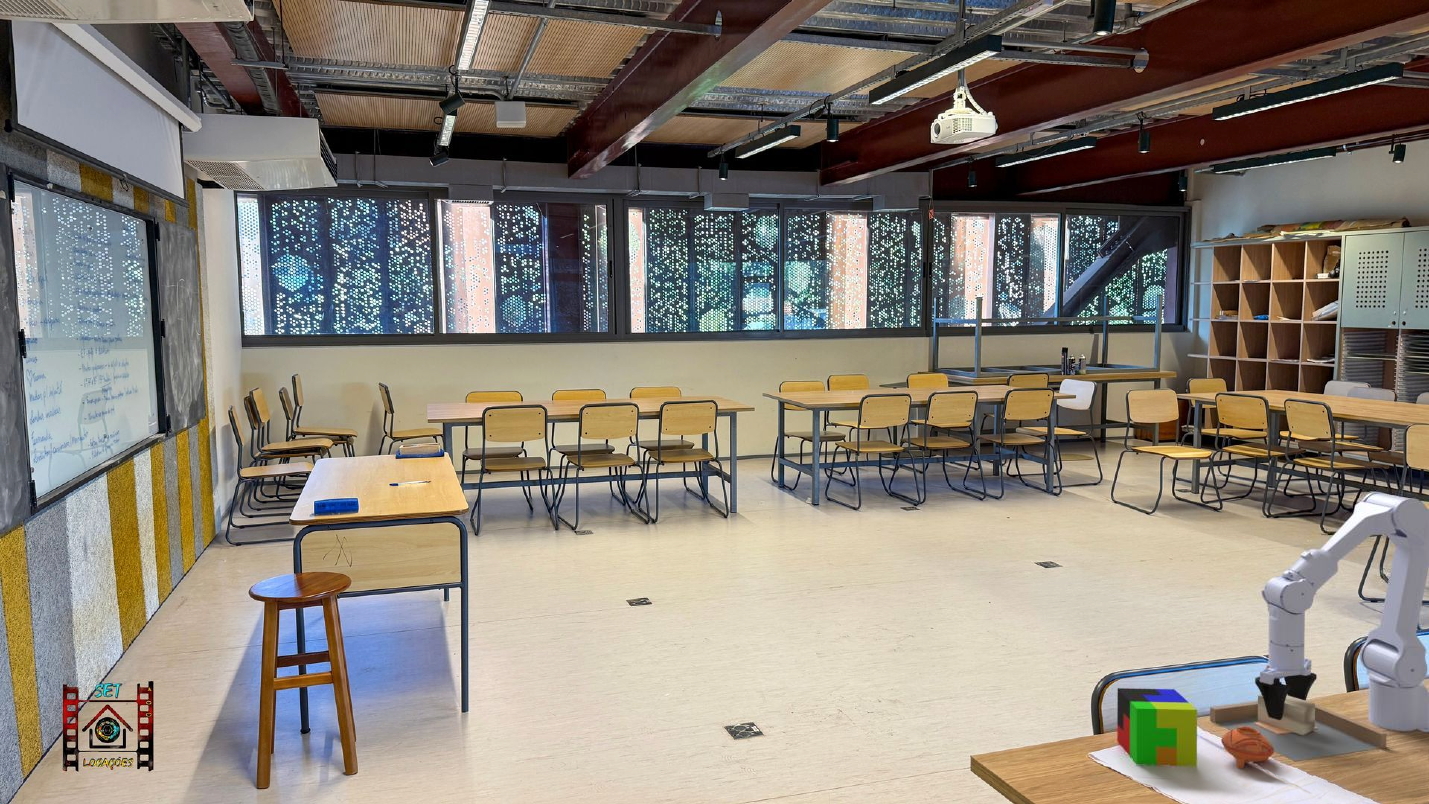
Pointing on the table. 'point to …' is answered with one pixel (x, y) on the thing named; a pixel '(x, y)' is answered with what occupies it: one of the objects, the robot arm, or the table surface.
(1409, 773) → the table surface
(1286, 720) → the birch block
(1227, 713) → the tray
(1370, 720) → the robot arm
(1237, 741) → the pot
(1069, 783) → the table surface
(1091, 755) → the table surface
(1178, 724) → the puzzle toy
